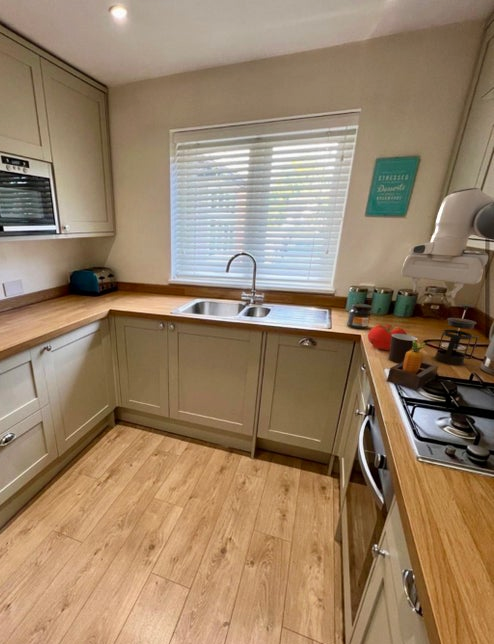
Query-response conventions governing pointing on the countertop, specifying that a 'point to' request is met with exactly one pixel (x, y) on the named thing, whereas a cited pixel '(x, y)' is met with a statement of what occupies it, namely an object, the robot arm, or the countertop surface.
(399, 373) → the brown rectangular box
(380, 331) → the tomato
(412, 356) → the carrot
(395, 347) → the coffee mug
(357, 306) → the supplement container
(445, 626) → the countertop surface
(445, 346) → the french press
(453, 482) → the countertop surface
